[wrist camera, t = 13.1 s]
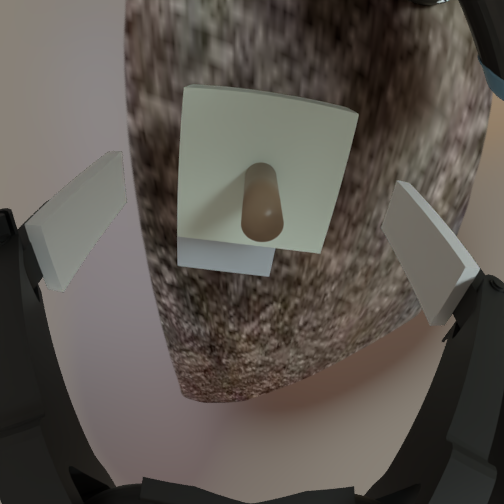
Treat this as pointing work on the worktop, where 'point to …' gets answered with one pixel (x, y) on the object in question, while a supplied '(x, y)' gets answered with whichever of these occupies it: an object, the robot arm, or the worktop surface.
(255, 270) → the mat
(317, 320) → the worktop surface
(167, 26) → the worktop surface
